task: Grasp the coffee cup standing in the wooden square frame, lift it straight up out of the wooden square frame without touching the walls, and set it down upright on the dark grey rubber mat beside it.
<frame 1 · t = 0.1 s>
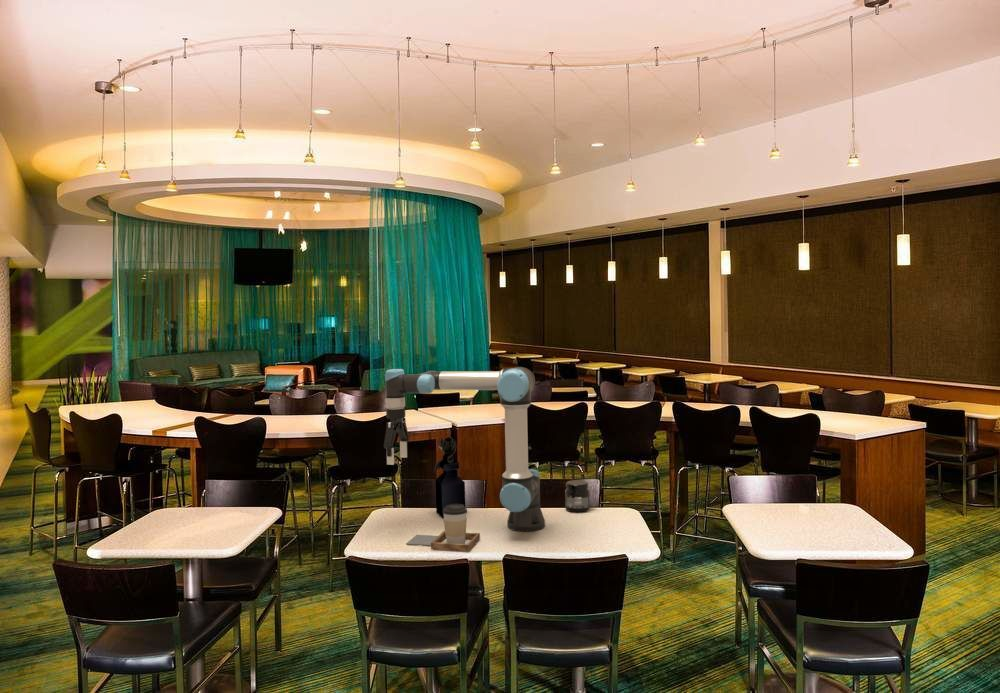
hand: (397, 460, 290), 28 cm above the table, fingers open, 13 cm apart
coffee cup: (455, 545, 271), resting in wooden square frame
wooden square frame: (455, 544, 271), on the table
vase: (450, 514, 312), on the table
supplement container: (577, 510, 314), on the table
mat: (424, 541, 276), on the table
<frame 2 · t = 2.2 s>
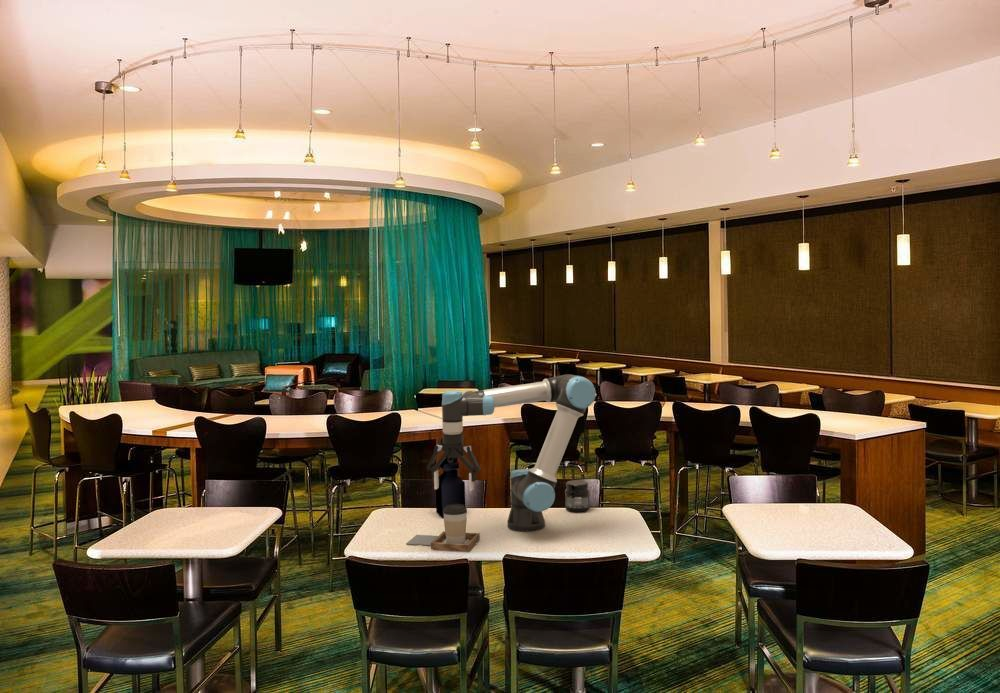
hand: (453, 489, 270), 21 cm above the table, fingers open, 13 cm apart
nothing on the table moved.
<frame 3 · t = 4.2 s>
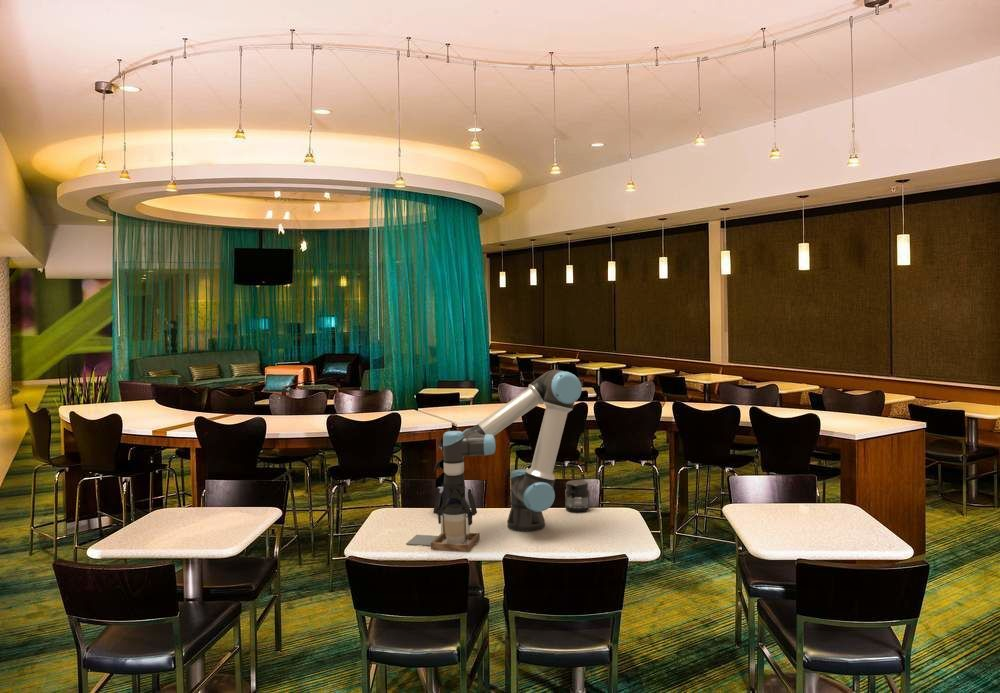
hand: (455, 532, 271), 5 cm above the table, fingers closed on coffee cup, 9 cm apart
coffee cup: (455, 545, 271), resting in wooden square frame, touching gripper
everything else where it was.
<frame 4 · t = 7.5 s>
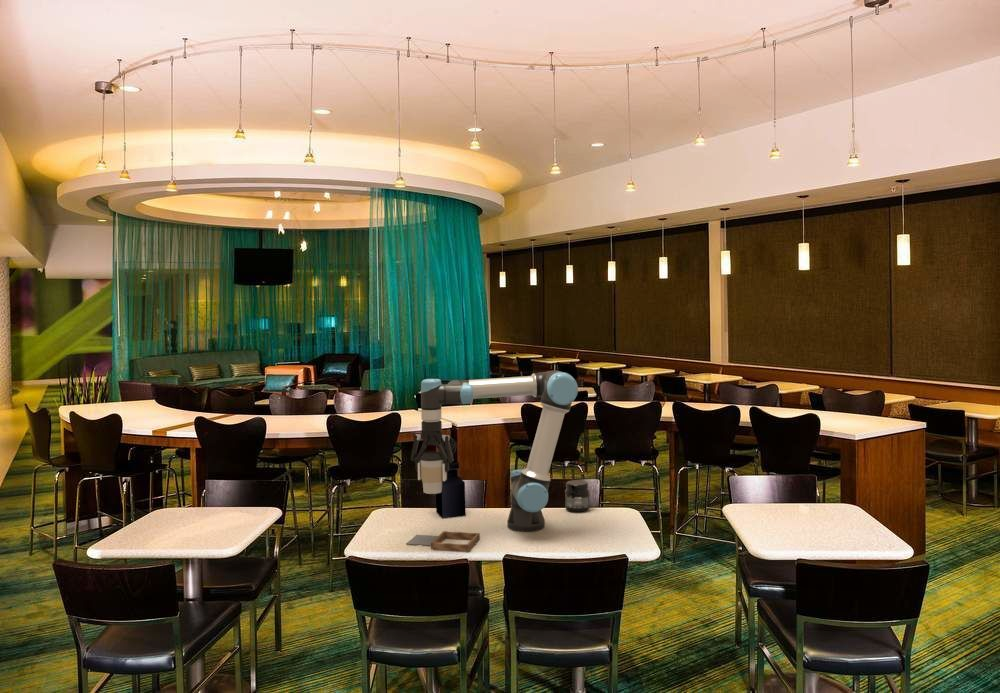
hand: (432, 479, 273), 24 cm above the table, fingers closed on coffee cup, 9 cm apart
coffee cup: (432, 492, 273), point 19 cm above the table, touching gripper
everything else where it was.
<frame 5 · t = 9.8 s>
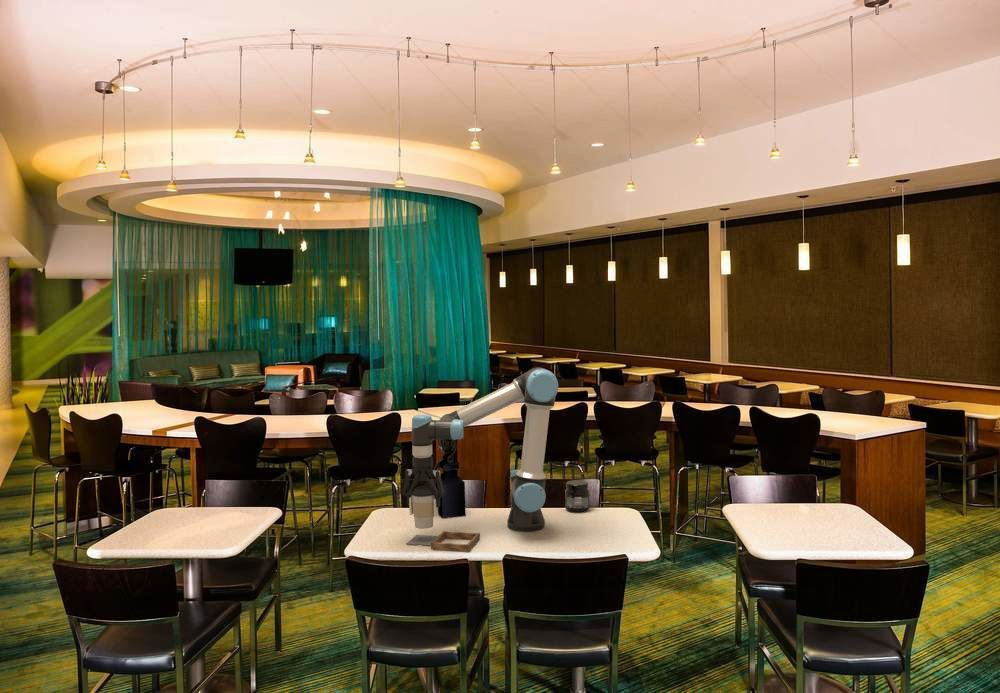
hand: (423, 514, 275), 10 cm above the table, fingers closed on coffee cup, 9 cm apart
coffee cup: (424, 526, 276), point 6 cm above the table, touching gripper
everything else where it was.
when the fingers open (6 cm above the table, at t = 11.0 s): coffee cup drops 1 cm, resting on mat.
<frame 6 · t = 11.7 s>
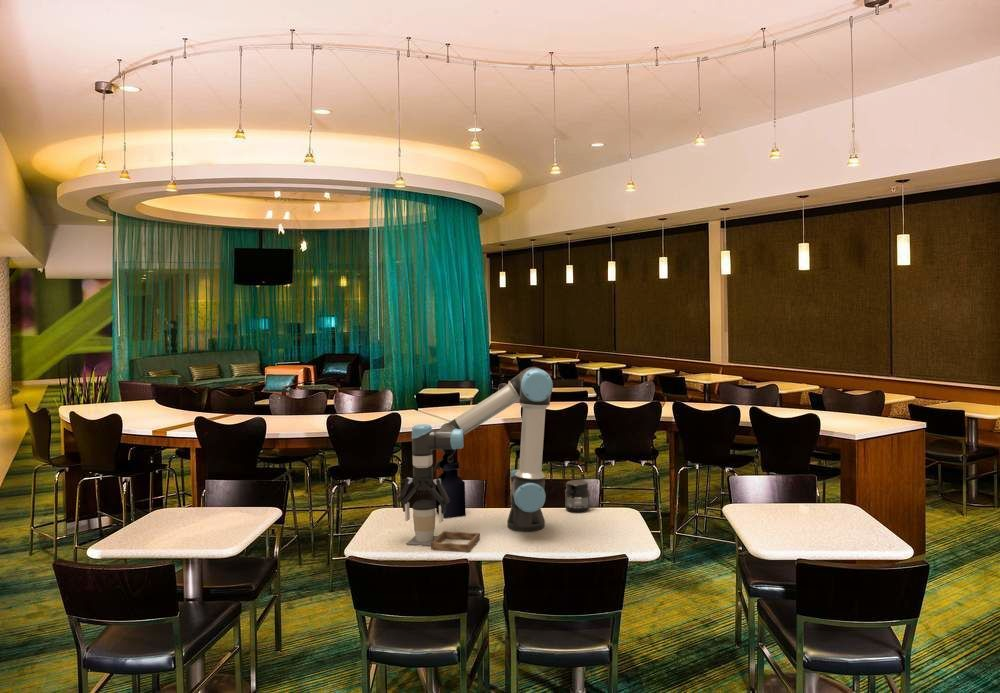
hand: (424, 521, 276), 8 cm above the table, fingers open, 13 cm apart
coffee cup: (424, 540, 276), resting on mat
everything else where it was.
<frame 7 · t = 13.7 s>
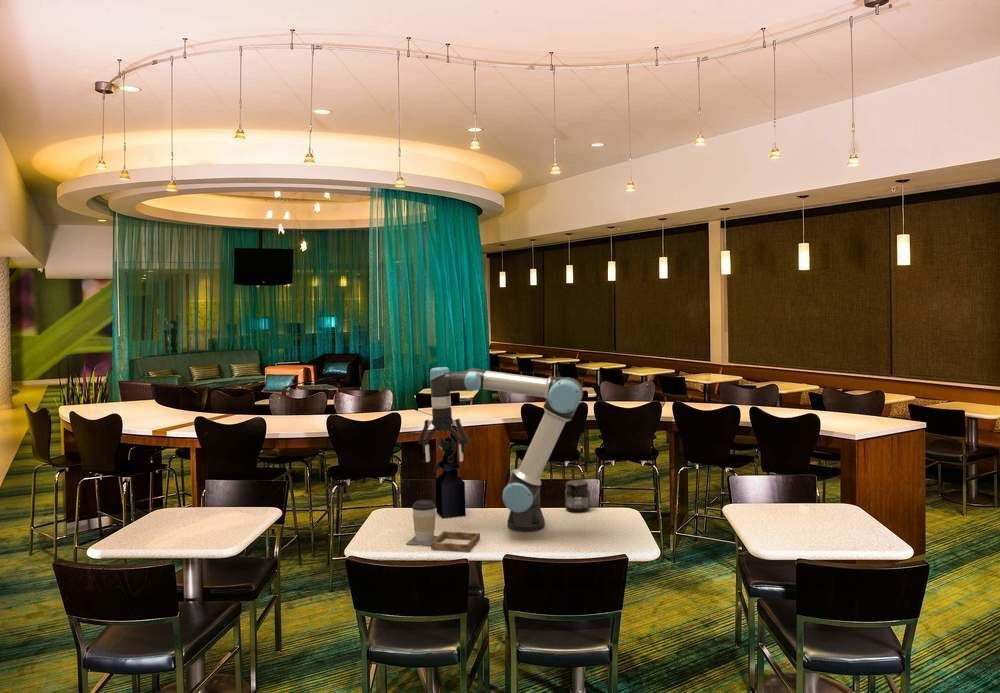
hand: (444, 461, 283), 29 cm above the table, fingers open, 13 cm apart
nothing on the table moved.
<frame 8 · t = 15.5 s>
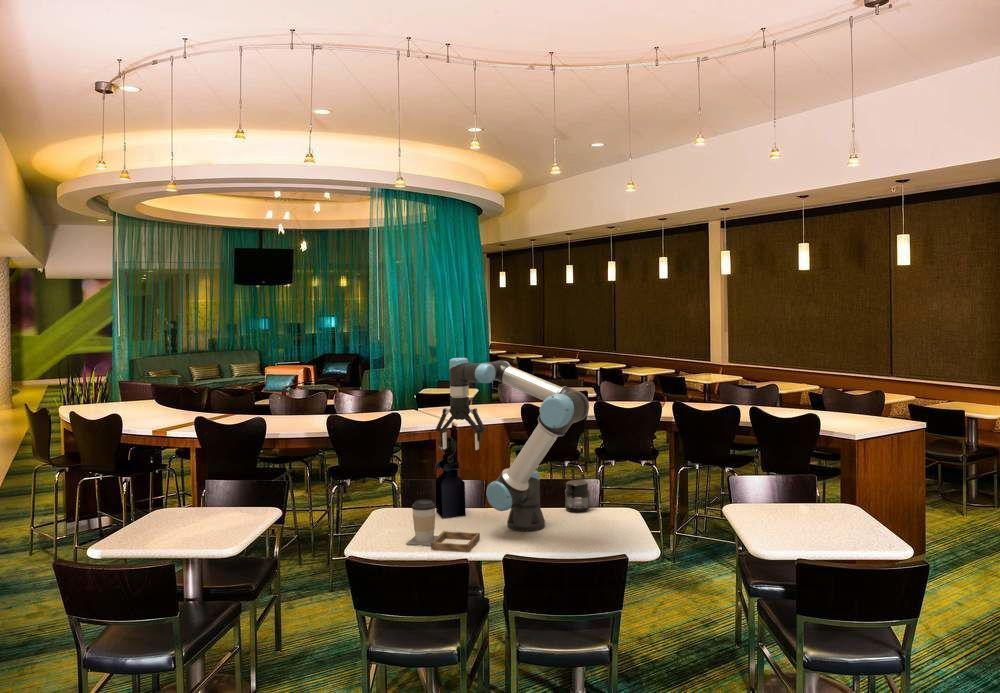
hand: (460, 449, 292), 32 cm above the table, fingers open, 13 cm apart
nothing on the table moved.
at the end: coffee cup inside the target area on the mat (0.1 cm from its centre), point 0.3 cm above the mat's base; coffee cup tilted 0°; the gripper is holding nothing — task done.
